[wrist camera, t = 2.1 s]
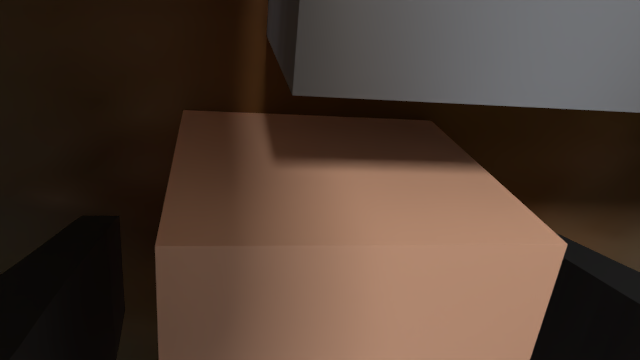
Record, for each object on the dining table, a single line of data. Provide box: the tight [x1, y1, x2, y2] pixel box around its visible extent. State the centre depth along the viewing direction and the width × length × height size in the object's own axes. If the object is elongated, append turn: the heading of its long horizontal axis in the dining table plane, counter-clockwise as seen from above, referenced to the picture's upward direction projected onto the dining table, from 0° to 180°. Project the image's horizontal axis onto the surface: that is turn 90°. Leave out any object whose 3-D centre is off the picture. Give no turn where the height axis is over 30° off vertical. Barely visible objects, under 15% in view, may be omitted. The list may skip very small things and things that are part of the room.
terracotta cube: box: [155, 110, 568, 360], centre depth 10 cm, size 5×5×5 cm
